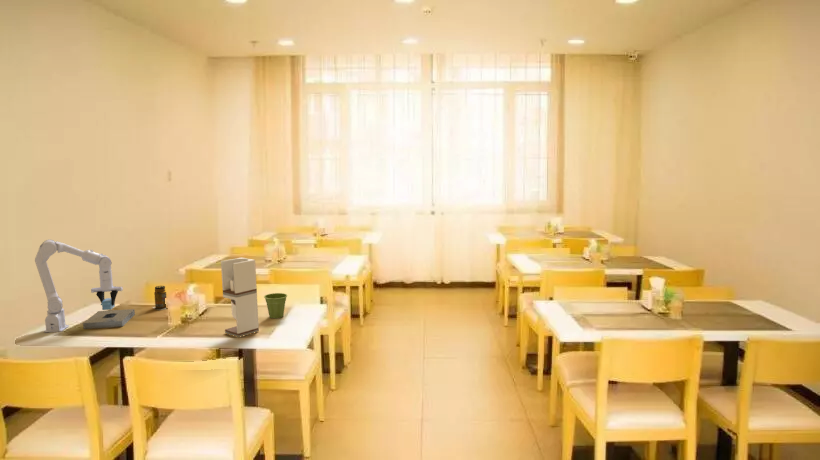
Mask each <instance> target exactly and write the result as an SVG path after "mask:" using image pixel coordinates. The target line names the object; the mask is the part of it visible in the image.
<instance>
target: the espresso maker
mask: <svg viewBox="0 0 820 460" xmlns="http://www.w3.org/2000/svg"><path fill="white" fill-rule="evenodd" d="M220 268H221V271H220V272H221V282H222V286H221V287H222V298H225V299H229V300H230V301H231V302H230V303H231V315H232V318H233V319H235V320H236V326H232V327H229V328H226V329H225V330H224V334H225V333H227V334H226V335H228V334H230V335H229V336H231V335H234V336H237V337H240V336H243V335H247V334H250V333H253V334H255V333H254V332H257V331H259V329H260V327H259V310H258V309H259V308H258V307H259V306H258V293H257V292H258V291H257V289H258V287H257V271H256V269H257V268H256V259H251V258H246V257H237V258H233V259H232V258H231V259H226V260H220ZM259 332H260V331H259ZM257 333H258V332H257ZM250 335H251V334H250ZM234 336H233V337H234ZM247 336H248V335H247ZM237 337H236V338H237ZM243 337H244V336H243ZM240 338H241V337H240Z"/></svg>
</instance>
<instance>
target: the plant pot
mask: <svg viewBox="0 0 820 460" xmlns="http://www.w3.org/2000/svg"><path fill="white" fill-rule="evenodd" d="M287 297H288V294H287V293H282V292H275V293H268V294H265V295H264V296H263V298H264V299H265V300H264V301H265V303H266V306H267V307H266V308H267V312H268V317H269V318H270V319H281V318H283V317H284V314H285V307H286V302H287Z"/></svg>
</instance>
